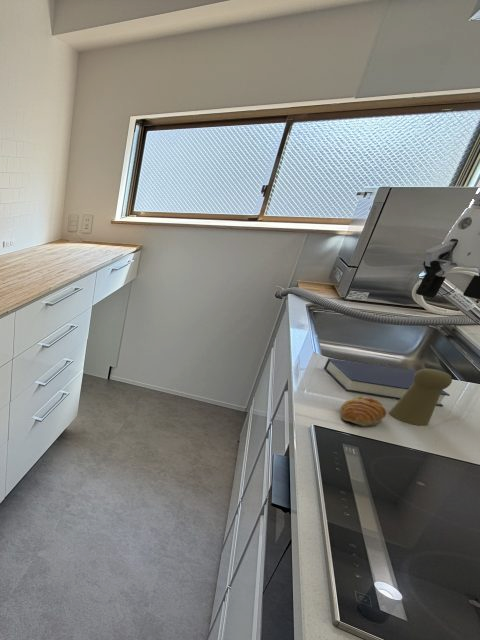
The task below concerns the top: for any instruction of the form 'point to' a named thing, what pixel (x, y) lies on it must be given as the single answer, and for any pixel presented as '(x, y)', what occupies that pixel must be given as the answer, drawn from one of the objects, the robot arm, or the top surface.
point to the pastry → (363, 411)
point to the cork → (421, 397)
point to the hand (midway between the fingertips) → (448, 296)
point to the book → (373, 378)
